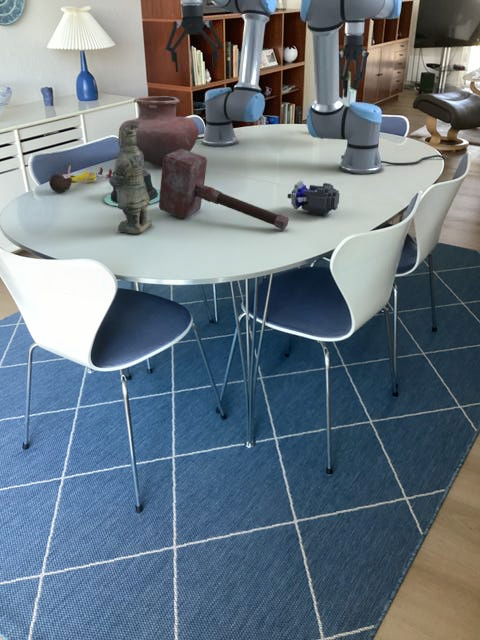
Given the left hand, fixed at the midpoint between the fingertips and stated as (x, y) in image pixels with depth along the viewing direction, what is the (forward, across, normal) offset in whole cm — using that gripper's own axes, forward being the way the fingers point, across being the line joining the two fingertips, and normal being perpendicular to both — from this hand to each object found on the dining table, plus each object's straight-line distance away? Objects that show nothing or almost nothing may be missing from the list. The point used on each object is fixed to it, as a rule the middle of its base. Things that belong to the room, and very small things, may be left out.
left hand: (195, 71), depth 204 cm
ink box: (+18, -64, -23) cm, 70 cm away
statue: (+34, +20, +68) cm, 79 cm away
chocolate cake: (+34, +23, +38) cm, 56 cm away
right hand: (+14, -64, -23) cm, 70 cm away
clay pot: (+34, +16, -4) cm, 38 cm away
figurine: (+34, +43, +21) cm, 59 cm away
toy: (+34, -34, +61) cm, 77 cm away
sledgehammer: (+34, -6, +64) cm, 73 cm away
